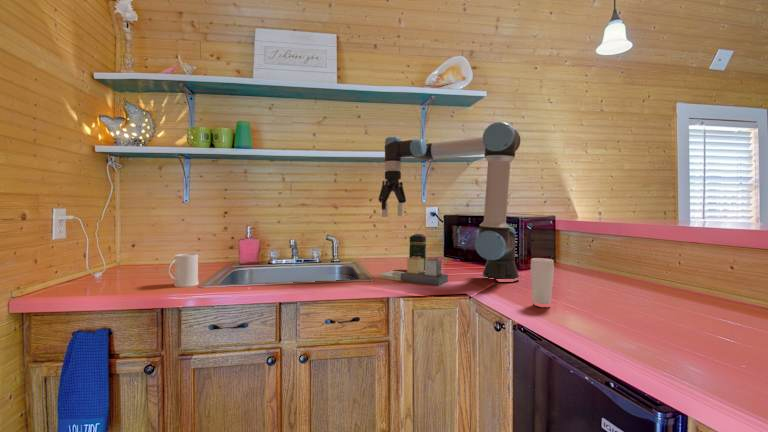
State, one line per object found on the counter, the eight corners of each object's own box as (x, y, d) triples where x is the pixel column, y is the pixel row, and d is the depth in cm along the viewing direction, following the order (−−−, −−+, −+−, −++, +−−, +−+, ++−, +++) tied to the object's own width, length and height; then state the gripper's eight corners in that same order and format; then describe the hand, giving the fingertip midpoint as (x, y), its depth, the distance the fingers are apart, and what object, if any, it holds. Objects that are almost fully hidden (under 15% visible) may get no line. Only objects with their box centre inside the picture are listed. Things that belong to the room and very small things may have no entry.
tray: (410, 278, 162) (410, 272, 162) (397, 282, 153) (397, 276, 153) (392, 276, 167) (392, 270, 167) (379, 280, 158) (379, 274, 157)
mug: (173, 289, 137) (173, 257, 137) (161, 287, 142) (160, 256, 141) (203, 284, 147) (203, 254, 147) (190, 281, 152) (190, 252, 151)
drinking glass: (546, 303, 121) (547, 257, 121) (557, 309, 114) (558, 260, 114) (526, 303, 121) (527, 257, 120) (535, 309, 114) (536, 260, 114)
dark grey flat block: (447, 284, 150) (447, 274, 150) (438, 288, 143) (438, 278, 143) (411, 279, 159) (411, 270, 159) (400, 283, 152) (400, 273, 152)
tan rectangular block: (423, 279, 154) (423, 256, 154) (418, 281, 150) (418, 257, 150) (412, 278, 157) (413, 255, 156) (407, 280, 152) (407, 256, 152)
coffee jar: (425, 274, 172) (425, 234, 172) (408, 273, 173) (408, 234, 173) (426, 271, 181) (426, 233, 181) (410, 270, 183) (410, 233, 182)
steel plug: (441, 282, 150) (441, 258, 149) (436, 284, 145) (436, 259, 145) (430, 280, 152) (430, 257, 152) (424, 282, 148) (424, 258, 148)
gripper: (399, 173, 184) (399, 216, 185) (370, 169, 164) (370, 217, 164) (413, 172, 180) (412, 216, 181) (384, 168, 159) (384, 217, 160)
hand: (392, 216), depth 172 cm, fingers open, 13 cm apart
